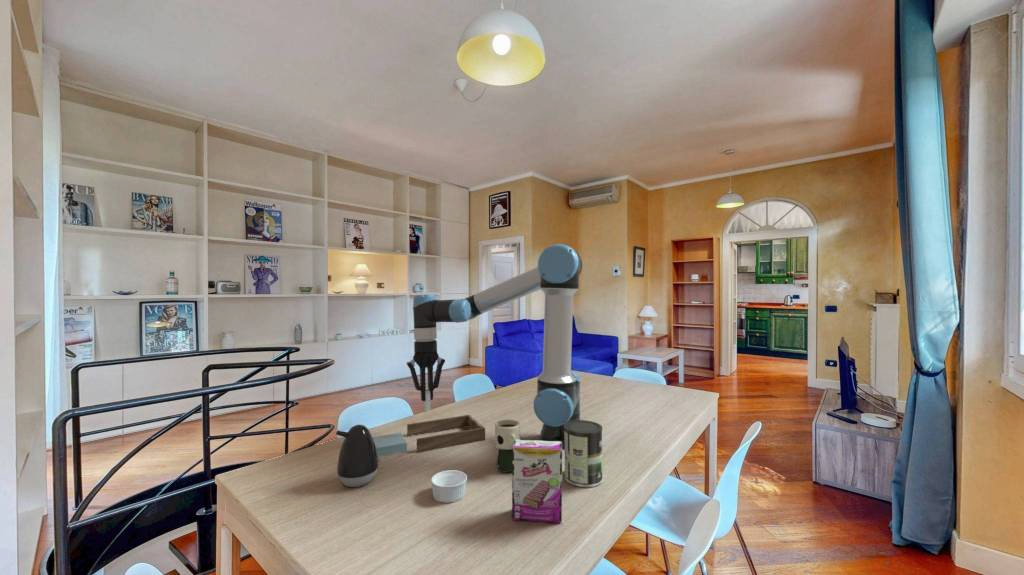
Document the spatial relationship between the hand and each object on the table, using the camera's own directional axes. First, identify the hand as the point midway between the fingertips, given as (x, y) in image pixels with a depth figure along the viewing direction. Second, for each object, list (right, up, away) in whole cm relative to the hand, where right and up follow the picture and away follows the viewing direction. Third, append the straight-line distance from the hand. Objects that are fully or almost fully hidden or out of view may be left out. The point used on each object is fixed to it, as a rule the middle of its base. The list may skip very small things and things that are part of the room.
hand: (427, 409), depth 132 cm
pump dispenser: (-12, -11, -28) cm, 33 cm away
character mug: (+27, -11, -21) cm, 36 cm away
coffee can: (+48, -11, -26) cm, 56 cm away
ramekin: (+13, -11, -34) cm, 38 cm away
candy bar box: (+34, -10, -44) cm, 57 cm away
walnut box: (+6, -11, +3) cm, 12 cm away
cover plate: (-12, -11, -6) cm, 17 cm away
